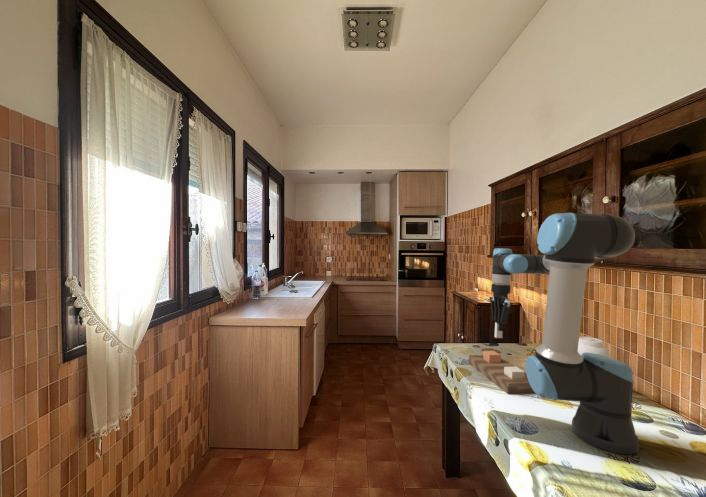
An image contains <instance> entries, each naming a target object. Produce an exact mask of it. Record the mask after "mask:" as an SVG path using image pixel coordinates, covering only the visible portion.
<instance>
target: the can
mask: <svg viewBox="0 0 706 497" xmlns="http://www.w3.org/2000/svg"><path fill="white" fill-rule="evenodd" d="M585 352H587V353H594V354H599V355H603V356H606V357H610V358H611V353H610V350H609V349H608V348H607V347H606V346H605V343H604V341H603V340H601V339H598V338H595V337H591V336H585V335H584V336H581V335H580V336H579V343H578V353H579V354H580V355H581V356H582V353H585Z"/></svg>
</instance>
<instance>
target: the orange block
mask: <svg viewBox="0 0 706 497" xmlns="http://www.w3.org/2000/svg"><path fill="white" fill-rule="evenodd" d="M482 355H483V359H484V360H485V361H486V362H488V363H500V360H501V358H502V357H501V356H502V354H500V353H498V352H496V351H495V350H483V352H482Z"/></svg>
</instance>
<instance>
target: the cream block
mask: <svg viewBox="0 0 706 497" xmlns="http://www.w3.org/2000/svg"><path fill="white" fill-rule="evenodd" d="M525 372H526V371H524V370H523V369H521V368H519V367H517V366H516V367H504V374H506V375H507V376H508V377H510V378H511V379H524V377H525Z"/></svg>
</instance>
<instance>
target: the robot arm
mask: <svg viewBox="0 0 706 497" xmlns="http://www.w3.org/2000/svg"><path fill="white" fill-rule="evenodd" d="M635 238H636V233H635V230H634V228H633V226H632V224H631V223H630V222H629V221H628V220H626V219H624V217H621V216H619V215H616V214H611V213H601V214H600V213H583V212H582V213H579V212H578V213H577V212H564V213H561V212H560V213H559V212H558V213H553V214H551V215H549V216H547V218H545V220H544V221H543V222H542V224H541V225H540V228H539V229H538V233H537V239H536V242H537V245H538V246H537V248H538V251H540V252H541V253H542V254H520V253H518V254H517V253H513V250H512V249H511V248H494V249H493V252H492V271H491V289H490V292H491V293H493V294H492V296H490V297H489V301H490V311H491V319H492V320H493V321H494V338H495V339H503V332H504V324H507V323H508V319H509V314H510V311H511V310H510V309H511V307H512V302H509V297H508V295H510V294H511V283H512V282H511V281H512V274H513V275H515V274H517V275H519V274H520V275H521V274H531V275H533V274H538V275H548V281H547V282H548V284H547V294H546V303H545V312H544V314H545V315H544V325H543V334H542V342H541V344H539V345H537V346H536V348H535V353H534V354H535V355H528V356H527V358H526V359H525V372H526V374H527V378H528V381H529V383H530V386H531V388H532V389H533V391H534V392H535V393H536V394H535V395H537V396H538V397H539V398H542V399H544V400H545V399H546V400H552V401H568V402H570V401H571V402H579V405H578V407H577V409H576V410H575V414H574V416H573V417H572V420H571V429H572V431H573V433H574V434H575V436H577V437H579V438H580V439H581V440H583V441H584V442H586V443H588V444H589V445H592V446H594V447H596V448H599V449H601V450H603V451H607V452H610V453H615V454H620V455H635V454H636V453H638V452H639V451H640V450H639V449H640V439H639V438H638V436H637V434H636V429H635V426H634V423H633V419H632V409H633V408H632V407H633V389H634V388H633V385H634V382H635V381H634V376H633V369H632V368H631V366H629V365H628V364H627V363H625V362H623V361H621V360H618V359H615V358H612V357H611V356H610V357H606V356H603V355H599V354H594V353H587V352H585V353H582V356H581V355H580V354H579V353H578V343H579V337H580V336H581V335H580V333H581V325H582V316H583V307H584V299H585V290H586V282H587V271H588V269H589V268H591V267H592V266H594V265H595V263H596V259H601V260H608V259H610V258H615V257H618V256H620V255H623V254H625V253H626V252H628V251H629V250H631V248H632V247H633V245H634V242H635Z"/></svg>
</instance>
